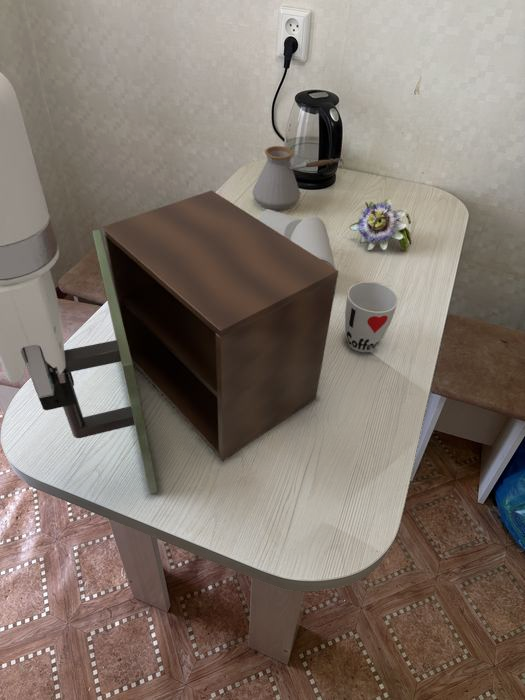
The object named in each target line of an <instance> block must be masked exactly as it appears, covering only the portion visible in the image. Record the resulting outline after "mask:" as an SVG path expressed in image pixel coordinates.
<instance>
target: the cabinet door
mask: <svg viewBox="0 0 525 700" xmlns="http://www.w3.org/2000/svg"><path fill="white" fill-rule="evenodd" d="M92 235H93V236H92V237H93V240H94V246H95V250H96V255H97V259H98V264H99V269H100V274H101V278H102V282H103V286H104V292H105V296H106V301H107V307H108V310H109V315H110V319H111V325H112V328H113V333H114V338H115V340H109V341H105V342H99V343H93V344H90V345H89V344H88V345H84V346H78V347H74V348H69V349H64V352H65V365H66V366H65V369H64V370H63V371H64V374H68V376H69V379H70V382H71V385H72V388H73V391H74V394H75V397H76V403H75V404H74V405H69V406H65V407H62V409H63V410H64V414H65V417H66V420H67V423H68V426H69V428H70V431H71V433H72V436H73V438H76V439H84V438H87V437H91V436H95V435H100V434H103V433H108V432H112V431H115V430H120V429H124V428H128V427H133V426H134V428H135V433H136V438H137V442H138V443H137V444H138V447H139V452H140V457H141V460H142V465H143V469H144V475H145V479H146V483H147V484H146V485H147V488H148V489H147V490H148V492H149V495H152V494H156V493H158V488H157V482H156V477H155V472H154V466H153V462H152V456H151V450H150V446H149V441H148V436H147V430H146V425H145V419H144V415H143V411H142V405H141V399H140V395H139V390H138V383H137V378H136V373H135V367H134V363H133V362H132V359H131V354H130V350H129V346H128V342H127V338H126V334H125V330H124V326H123V322H122V318H121V313H120V309H119V305H118V301H117V297H116V293H115V289H114V285H113V281H112V276H111V272H110V267H109V262H108V257H107V252H106V247H105V243H104V238H103V234H102V230H101V229H95V230H94V229H93V230H92ZM117 363H120V365H121V370H122V375H123V379H124V380H123V381H124V384H125V389H126V393H127V397H128V402H129V406H125V407H121V408H117V409H112V410H109V411H104V412H100V413H96V414H91V415H87V416H84V415H83V413H82V410H81V406H80V403H79V400H78V396H77V394H76V391H75V386H73V384H72V381H71V378H70V375H69V372H71V373H72V372H78V371H82V370H86V369H92V368H96V367H102V366H107V365H111V364H117ZM49 370H50V372H54V371H55V368H49Z"/></svg>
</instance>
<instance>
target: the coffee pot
mask: <svg viewBox="0 0 525 700" xmlns="http://www.w3.org/2000/svg"><path fill="white" fill-rule="evenodd" d="M264 153H265V155H266V158H267V160H266V162H265V164H264V166H263V168H262V170H261V172H260V174H259V176H258V178H257V180H256V182H255V184H254V186H253V188H252V197H253V198H254V201H256V203H257V204H258V205H259V206H260V207H261V208H262V209H264V210H266V209H270V210H273V211H276V212H279V213H281V212H285V211H288V210H289V209H291V208H292V207H293V206H295V205H296V204H297V202H299V200H300V198H301V191H300V188H299V185H298V182H297V179H296V176H295V174H294V170H299V169H304V168H315V167H316V168H317V167H323V166H326V165H333V164H334V163H337V164H338V168H339V169H343V168H344V167H345V166H344V165H345V161H344V160H343V159H342V158H341V157H340V158H335V159H334V158H332V157H331V158H329V159H320V160H315V161H311V162H306V163H301V164H300V163H299V164H291V162H290V161H291V158H292V157H293V155H294V151H293V150H292V149H291V148H288V147H287V146H282V145H273V146H269V147H267V148H266V149H265V150H264ZM341 162H342V167H341V166H340V163H341Z"/></svg>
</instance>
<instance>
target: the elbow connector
mask: <svg viewBox="0 0 525 700" xmlns="http://www.w3.org/2000/svg"><path fill="white" fill-rule="evenodd" d="M257 219H258V220H259V221H261V222H262V223H264V224H266V225H267V226H269V227H270V228H272V229H273V230H275V231H277V232H278V233H280V234H281V235H283V236H285V237H286V238H288V239H289V240H291V241H292V242H294V243H296V244H297V245H299V246H300V247H302V248H303V249H305V250H307V251H308V252H310V253H311V254H313V255H314V256H316V257H318V258H319V259H321V260H322V261H324V262H325V263H327V264H329V265H330V266H332V267H333V268H335V269H336V265H335V260H334V256H333V251H332V247H331V243H330V239H329V235H328V230H327V227H326V224H325V222H324V221H323V220H322V219H321V218H320V217H318V216H315V215H309V216H306V217H304V218H300V217H297V216H293V215H289V214H286V213H283V212H276V211H273V210H270V209H264V210H263V211H262V212H261V214H260V215H259V217H258V218H257ZM336 270H337V269H336Z"/></svg>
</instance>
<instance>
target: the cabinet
mask: <svg viewBox="0 0 525 700" xmlns="http://www.w3.org/2000/svg"><path fill="white" fill-rule="evenodd" d="M101 234H102V238H103V243H104V248H105V252H106V256H107V260H108V264H109V268H110V272H111V276H112V281H113V285H114V289H115V293H116V297H117V301H118V305H119V309H120V313H121V318H122V322H123V326H124V330H125V334H126V338H127V342H128V346H129V350H130V354H131V359H132V363H133V365H134V366H135V367H136V368H137V369H138V370H139V371H140V372H141V373H142V375H143V376H144V377H145V378H146V379H147V380H148V381H149V382H150V383H151V384H152V385H153V386H154V388H155V389H156V390H157V391H158V392H159V393H160V394H161V396H162V397H164V398H165V399H166V401H168V403H169V404H170V405H171V406H172V407H173V408H174V409H175V410H176V412H177V413H179V415H180V416H181V418H183V419H184V420H185V422H186V423H188V425H189V426H190V427H191V428H192V429H193V430H194V431H195V432H196V434H198V436H199V437H200V438H201V439H202V440H203V441H204V442H205V443H206V444H207V446H209V447H210V448H211V450H212V451H213V452H214V453H215V454H216V455H217V456H218V457H219V458H220V460H221V461H222V462H225V461H226V460H228V459H229V458H230V457H232V456H233V455H235V454H236V453H238V452H239V451H241V450H242V449H244V448H246V447H247V446H248V445H250V444H251V443H253V442H254V441H256V440H257V439H259V438H260V437H262V436H263V435H265V434H266V433H268V432H269V431H271V430H272V429H274V428H275V427H277V426H278V425H280V424H281V423H283V422H284V421H286V420H287V419H289V418H290V417H292V416H293V415H295V414H297V412H299V411H301V410H302V409H304V408H305V407H307V406H308V405H309V404H311V403H313V402H314V401H315V400H317V396H318V390H319V389H318V388H319V383H320V378H321V373H322V367H323V361H324V356H325V349H326V346H327V345H326V344H327V338H328V333H329V326H330V322H331V315H332V312H333V311H332V310H333V304H334V299H335V292H336V288H337V282H338V276H339V270H338V269H335V268H336V267H335V268H333V267H332V266H330V265H329V264H327V263H325V262H324V261H322V260H321V259H319V258H318V257H316V256H314V255H313V254H311V253H310V252H308V251H307V250H305V249H303V248H302V247H300V246H299V245H297V244H296V243H294V242H292V241H291V240H289V239H288V238H286V237H285V236H283V235H281V234H280V233H278V232H277V231H275V230H273V229H272V228H270V227H269V226H267V225H266V224H264V223H262V222H261V221H259V220H258V218H256V217H255V216H253V215H251V214H250V213H248V212H247V211H245V210H243V209H242V208H240V207H239V206H237V205H236V204H234V203H233V202H231V201H229V200H228V199H227V198H225V197H223V196H221V195H220V194H218V193H217V192H216V191H213V190H211V189H210V190H209V191H206V192H202V193H200V194H196V195H193V196H191V197H187V198H185V199H182V200H179V201H175V202H172V203H169V204H167V205H163V206H160V207H158V208H154V209H151V210H148V211H146V212H143V213H140V214H137V215H133V216H131V217H128V218H124V219H121V220H119V221H116V222H112V223H109V224H107V225H103V226H101Z"/></svg>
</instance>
